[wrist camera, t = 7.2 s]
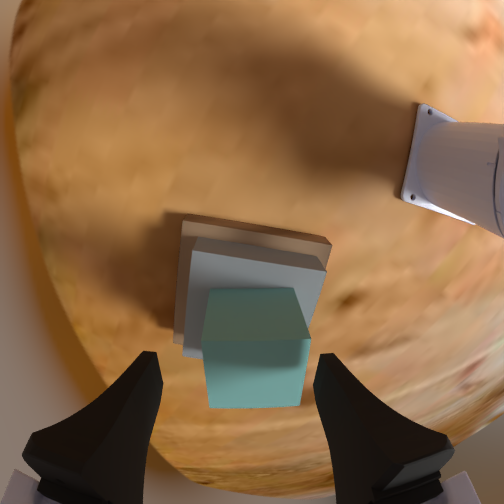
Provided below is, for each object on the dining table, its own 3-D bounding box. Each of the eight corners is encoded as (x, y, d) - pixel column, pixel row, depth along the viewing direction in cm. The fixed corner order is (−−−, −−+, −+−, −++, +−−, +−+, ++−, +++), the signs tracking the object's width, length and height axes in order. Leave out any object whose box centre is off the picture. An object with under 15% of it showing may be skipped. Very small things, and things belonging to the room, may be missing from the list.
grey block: (316, 256, 20) (326, 271, 17) (288, 348, 22) (293, 369, 20) (198, 236, 19) (192, 250, 16) (187, 334, 21) (182, 355, 19)
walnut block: (322, 234, 22) (332, 245, 19) (291, 340, 25) (295, 358, 23) (189, 211, 21) (182, 220, 18) (178, 325, 24) (173, 343, 22)
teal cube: (293, 287, 17) (311, 338, 13) (287, 351, 19) (299, 405, 15) (210, 288, 17) (200, 340, 13) (214, 352, 19) (209, 407, 14)
